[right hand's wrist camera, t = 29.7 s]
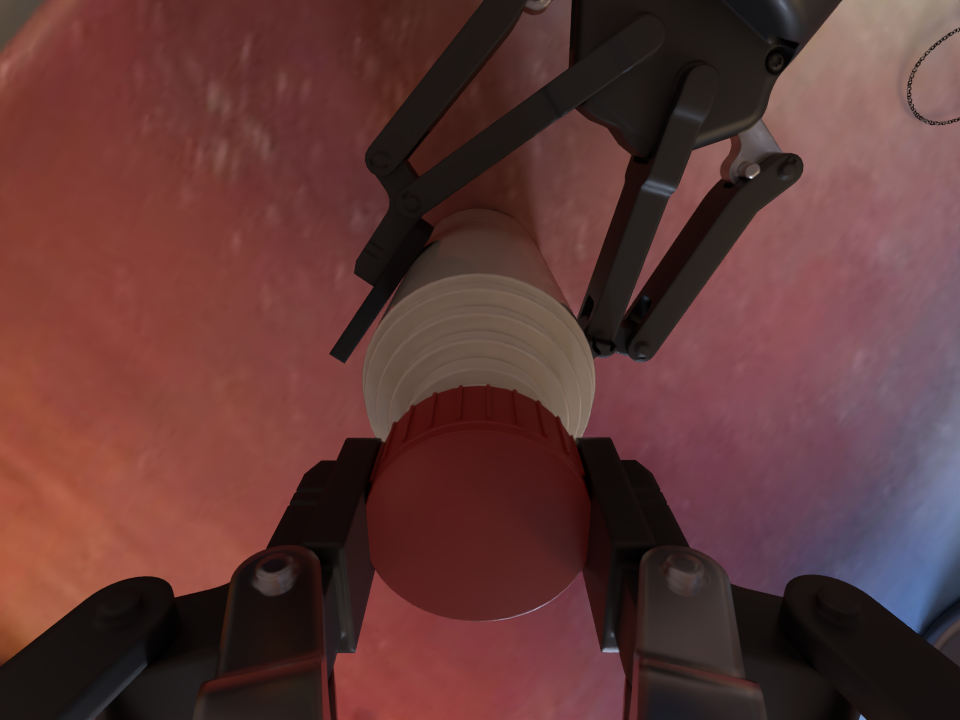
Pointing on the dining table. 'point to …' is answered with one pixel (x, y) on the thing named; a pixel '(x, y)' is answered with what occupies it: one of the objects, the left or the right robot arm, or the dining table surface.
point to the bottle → (479, 326)
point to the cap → (478, 505)
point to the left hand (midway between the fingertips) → (415, 392)
